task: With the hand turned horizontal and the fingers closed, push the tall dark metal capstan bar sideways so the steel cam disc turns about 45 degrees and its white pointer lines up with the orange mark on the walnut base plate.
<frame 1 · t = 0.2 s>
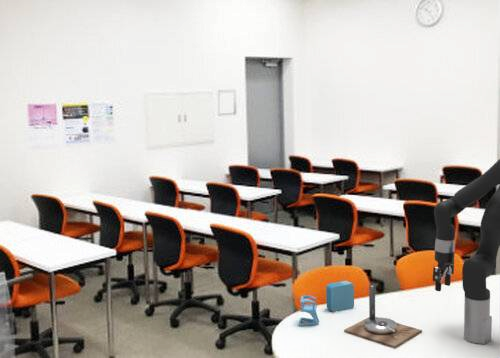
hand: (442, 288, 236), 18 cm above the table, tool pointing down, fingers open, 8 cm apart
base plate: (382, 332, 238), on the table
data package: (340, 309, 265), on the table
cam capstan: (382, 310, 237), point 9 cm above the table, hinge at 0.0°
chair: (309, 323, 250), on the table
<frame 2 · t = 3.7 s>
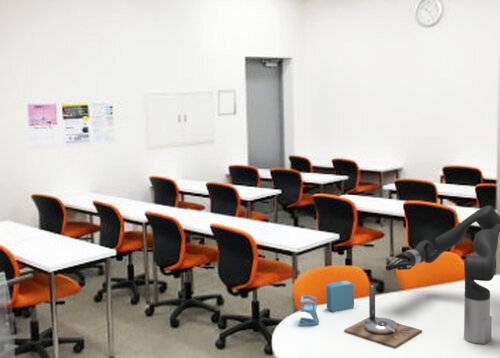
hand: (387, 268, 250), 22 cm above the table, tool horizontal, fingers closed
nothing on the table moved.
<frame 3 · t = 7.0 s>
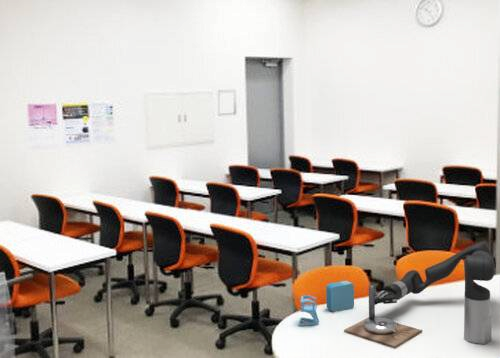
hand: (372, 302, 244), 10 cm above the table, tool horizontal, fingers closed
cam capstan: (382, 310, 237), point 9 cm above the table, hinge at 2.0°, touching gripper
everything else where it was.
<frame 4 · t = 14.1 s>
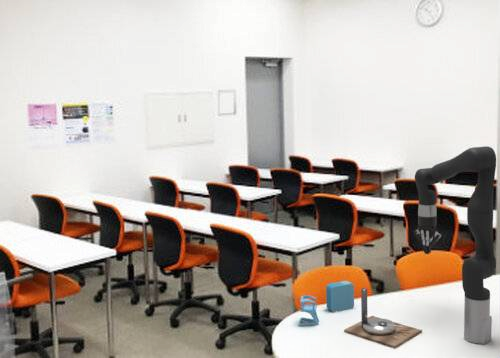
hand: (427, 253, 252), 27 cm above the table, tool pointing down, fingers closed
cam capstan: (381, 310, 236), point 9 cm above the table, hinge at 42.9°
everything else where it was.
at the end: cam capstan at +43° (first picture: +0°) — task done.
